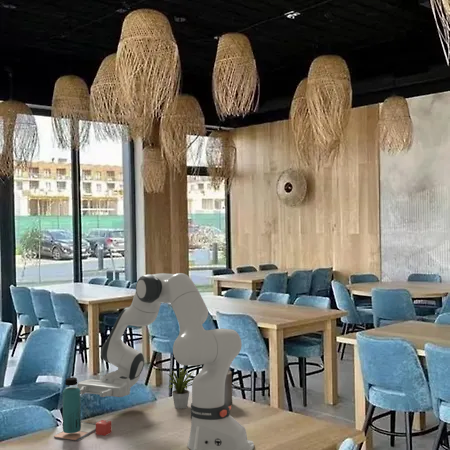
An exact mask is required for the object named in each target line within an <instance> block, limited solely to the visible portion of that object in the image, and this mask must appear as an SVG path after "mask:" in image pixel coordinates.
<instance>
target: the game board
mask: <svg viewBox="0 0 450 450" xmlns="http://www.w3.org/2000/svg"><path fill="white" fill-rule="evenodd" d="M94 432H95V433H96V423H92V422H85V421H81V430H80V431H79V432H76V433H65V432H64V431H63V430H62V431H60V432H59V433H56V434H55V435H54V436H53V438H56V439H62V440H68V441H74V442H79V441H81V440H83V439H84V438H86V437H88V436H90V435H92V434H93V433H94Z"/></svg>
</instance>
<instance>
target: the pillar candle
mask: <svg viewBox="0 0 450 450" xmlns="http://www.w3.org/2000/svg"><path fill="white" fill-rule="evenodd" d="M232 374H233V372H232V371H231V370H230V369H228V372H227V375H226V380H225V395H224V402H225V404H226V405H227V406H228V407H229V406H231V407H232V406H233V379H232V377H233V375H232Z"/></svg>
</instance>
